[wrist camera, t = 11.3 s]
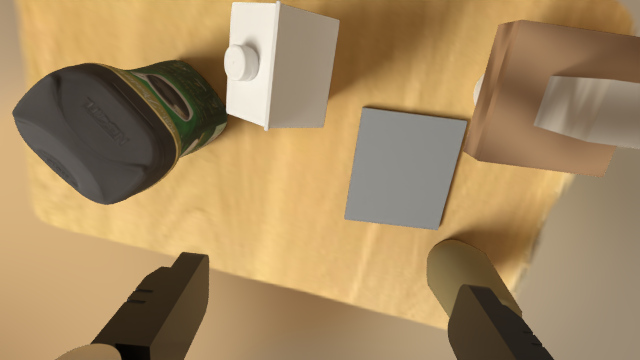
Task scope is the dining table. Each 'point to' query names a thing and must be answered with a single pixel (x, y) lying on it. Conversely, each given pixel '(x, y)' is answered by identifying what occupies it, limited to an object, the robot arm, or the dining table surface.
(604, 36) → the tan plate with knob
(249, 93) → the milk carton
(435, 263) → the squeeze bottle
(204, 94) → the coffee jar
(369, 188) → the rubber mat
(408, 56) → the dining table surface
